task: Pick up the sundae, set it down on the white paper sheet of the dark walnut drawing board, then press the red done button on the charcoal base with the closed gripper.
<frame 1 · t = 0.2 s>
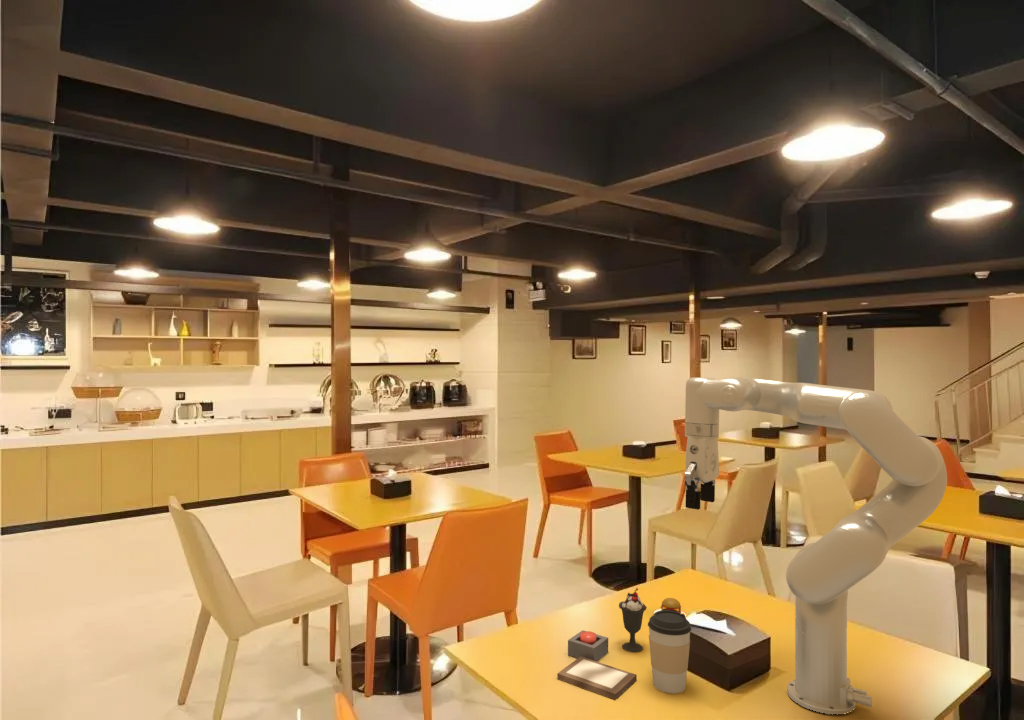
hand: (700, 504, 141), 36 cm above the table, tool pointing down, fingers open, 9 cm apart
drawing board: (596, 679, 132), on the table
sundae: (632, 648, 148), on the table
done button: (588, 638, 145), point 4 cm above the table, slide at 0.0 cm
coffee cup: (669, 685, 130), on the table
hamburger: (670, 619, 167), on the table
button base: (588, 653, 145), on the table
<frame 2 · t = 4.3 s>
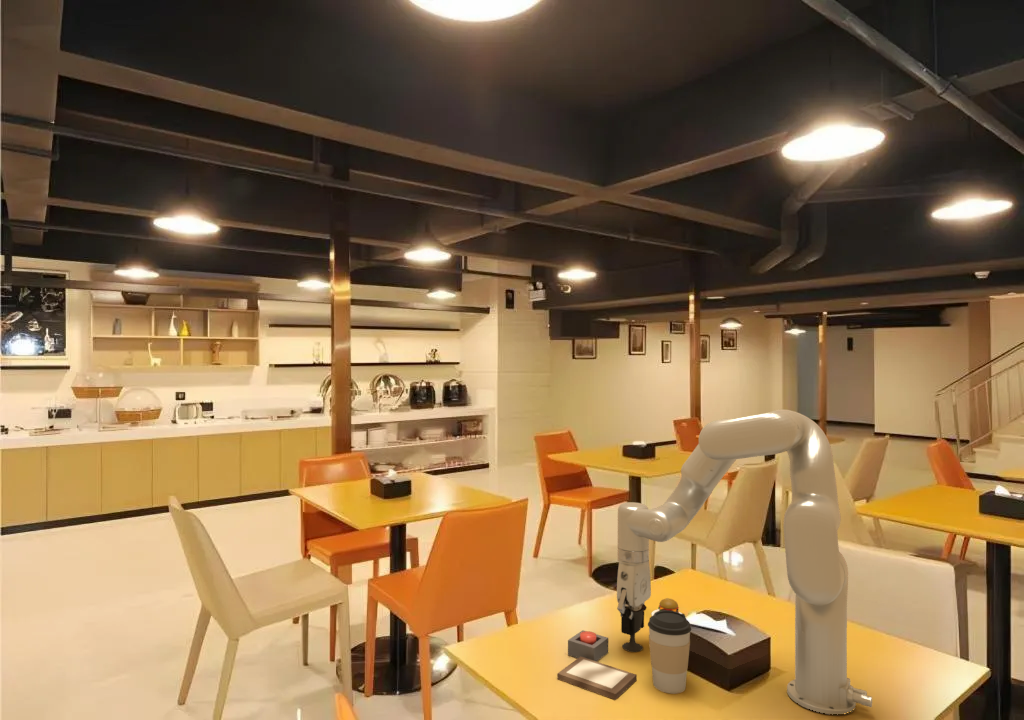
hand: (632, 629, 148), 4 cm above the table, tool pointing down, fingers closed on sundae, 4 cm apart
sundae: (632, 648, 148), on the table, touching gripper
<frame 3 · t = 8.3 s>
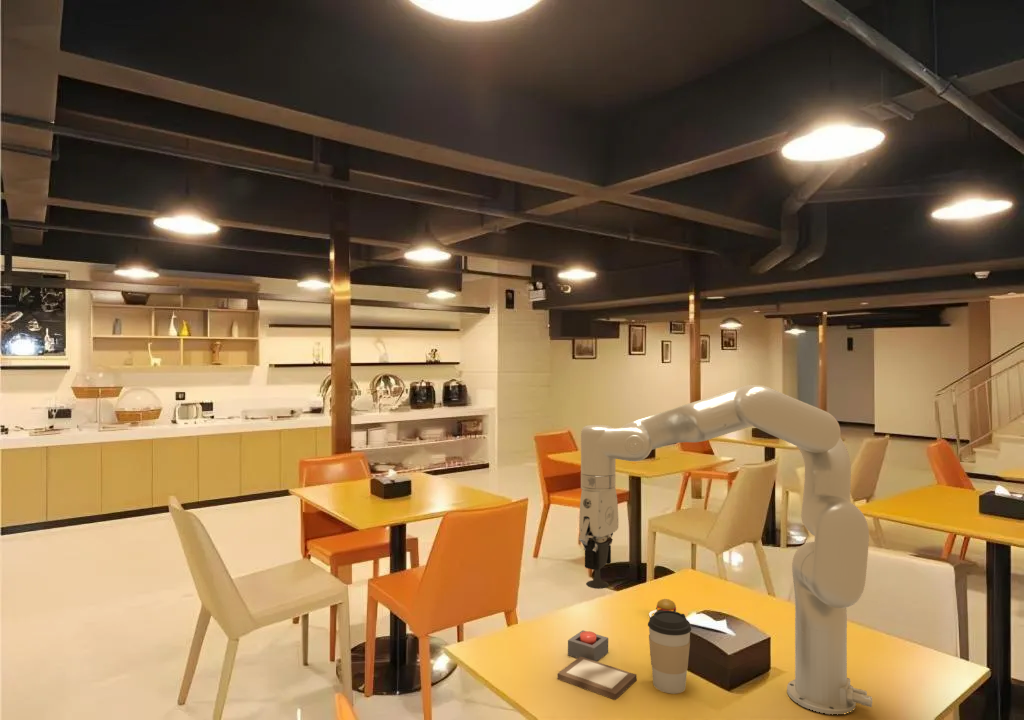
hand: (597, 564, 133), 25 cm above the table, tool pointing down, fingers closed on sundae, 4 cm apart
sundae: (597, 585, 133), point 20 cm above the table, touching gripper
when the fingers open (8 cm above the table, at t = 12.3 s): sundae drops 1 cm, resting on drawing board.
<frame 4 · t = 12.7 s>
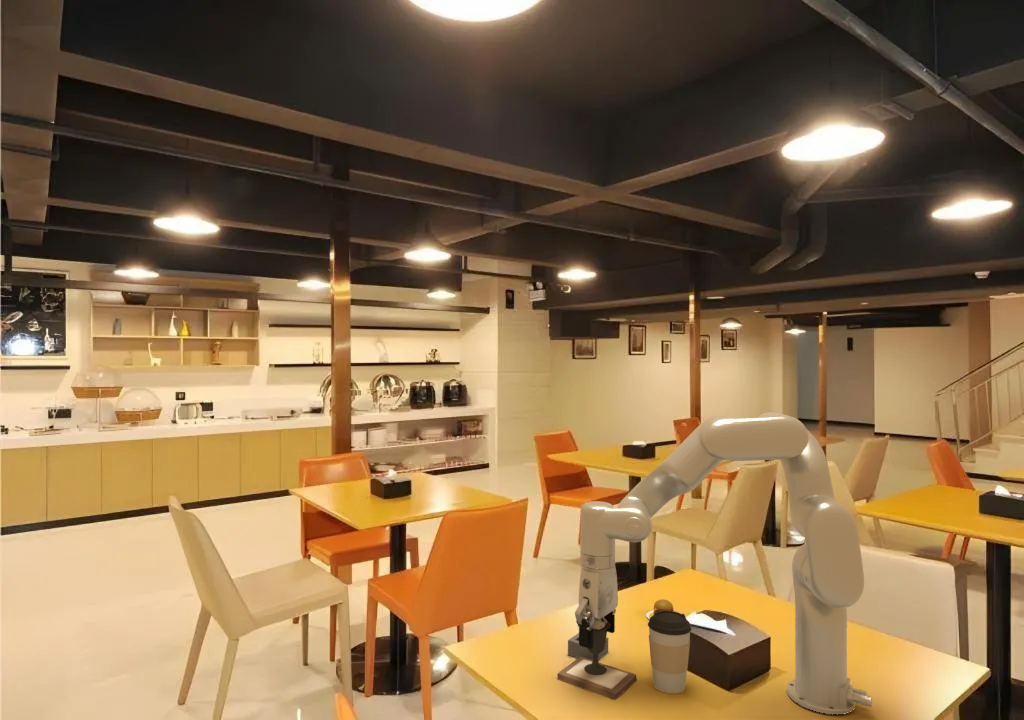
hand: (597, 638, 133), 9 cm above the table, tool pointing down, fingers open, 9 cm apart
sundae: (595, 670, 134), point 1 cm above the table, touching drawing board
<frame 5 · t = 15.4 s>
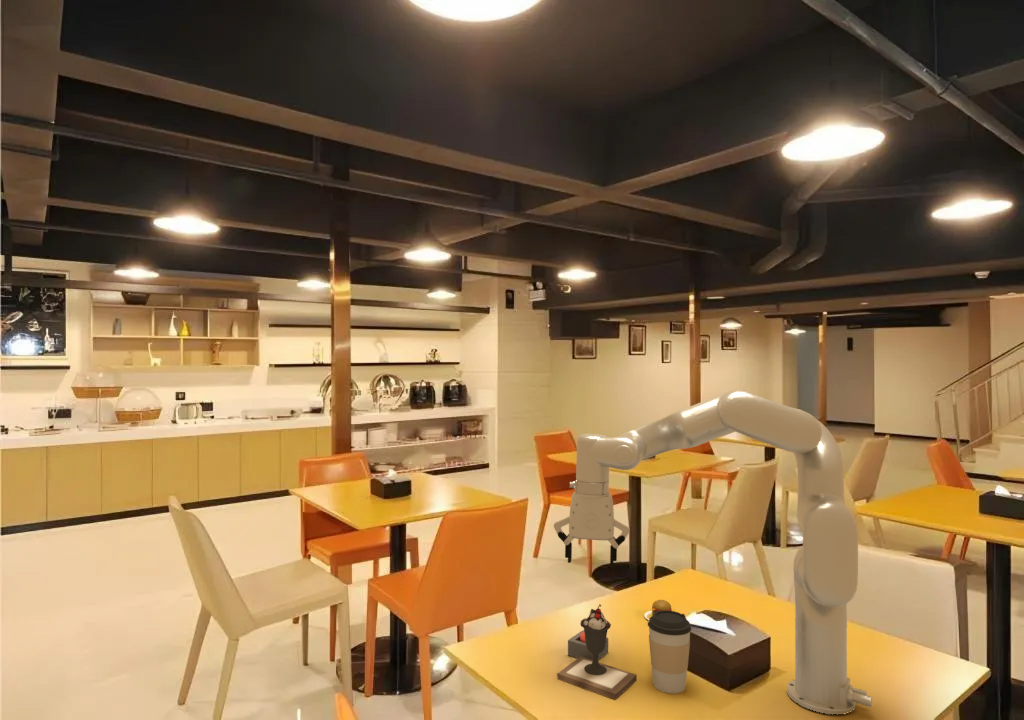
hand: (590, 562, 140), 23 cm above the table, tool pointing down, fingers open, 9 cm apart
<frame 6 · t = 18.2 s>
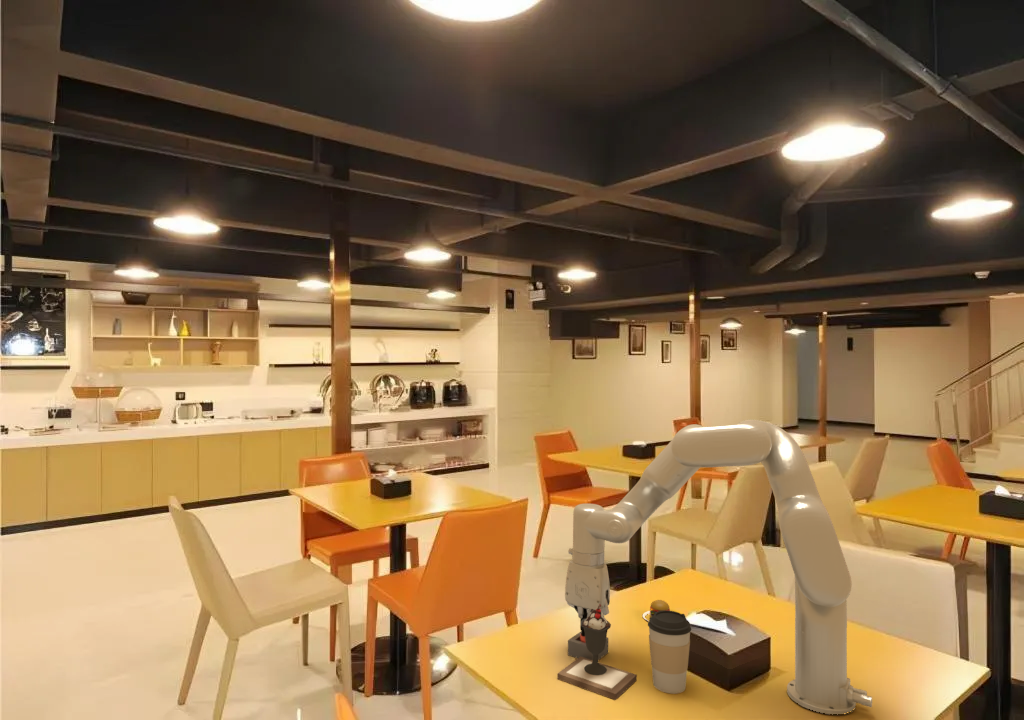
hand: (587, 634, 145), 4 cm above the table, tool pointing down, fingers closed
done button: (588, 639, 145), point 3 cm above the table, slide at 0.1 cm, touching gripper
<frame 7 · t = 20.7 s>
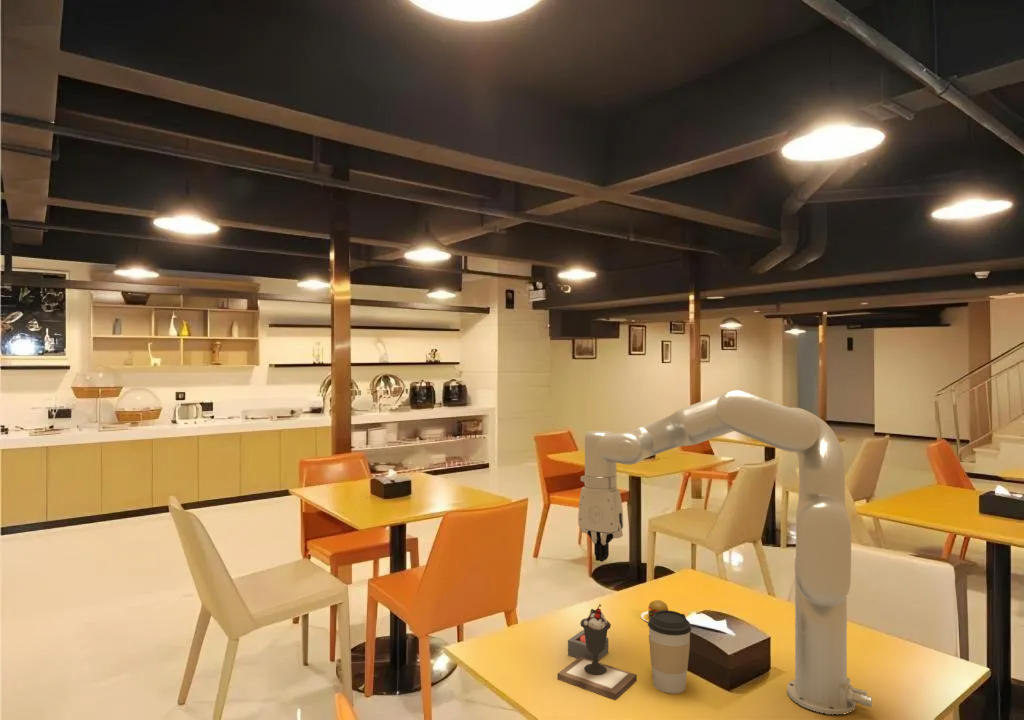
hand: (601, 559, 145), 22 cm above the table, tool pointing down, fingers closed
done button: (588, 642, 145), point 3 cm above the table, slide at 0.8 cm
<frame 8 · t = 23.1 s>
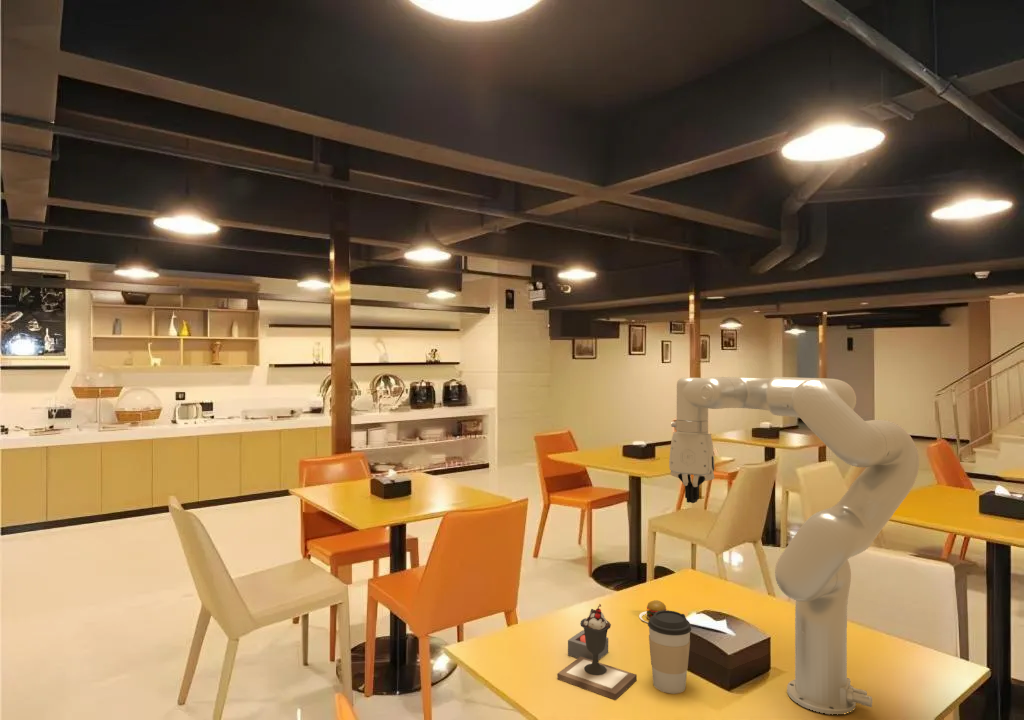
hand: (692, 501, 150), 35 cm above the table, tool pointing down, fingers closed
at the end: sundae inside the target area on the drawing board (1.4 cm from its centre), point 1.2 cm above the drawing board's base; sundae tilted 0°; done button slide at 0.8 cm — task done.
